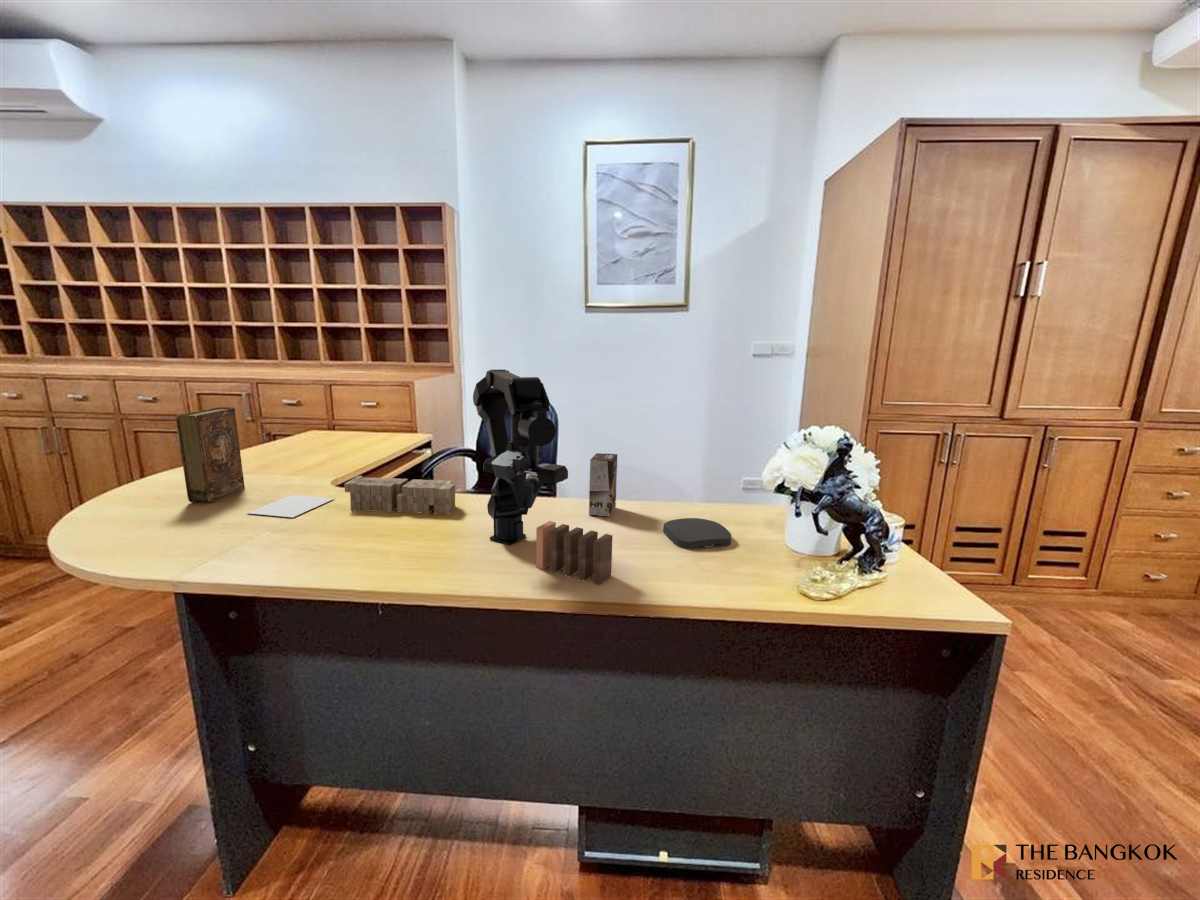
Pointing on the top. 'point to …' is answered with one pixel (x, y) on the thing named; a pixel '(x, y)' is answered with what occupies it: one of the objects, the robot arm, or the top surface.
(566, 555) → the walnut domino
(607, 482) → the coffee box
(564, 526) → the walnut domino
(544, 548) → the terracotta domino
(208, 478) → the book
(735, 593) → the top surface
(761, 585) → the top surface
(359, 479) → the block tower
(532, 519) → the top surface
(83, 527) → the top surface
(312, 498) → the paper stack
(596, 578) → the walnut domino
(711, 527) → the media streaming box
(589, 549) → the walnut domino
